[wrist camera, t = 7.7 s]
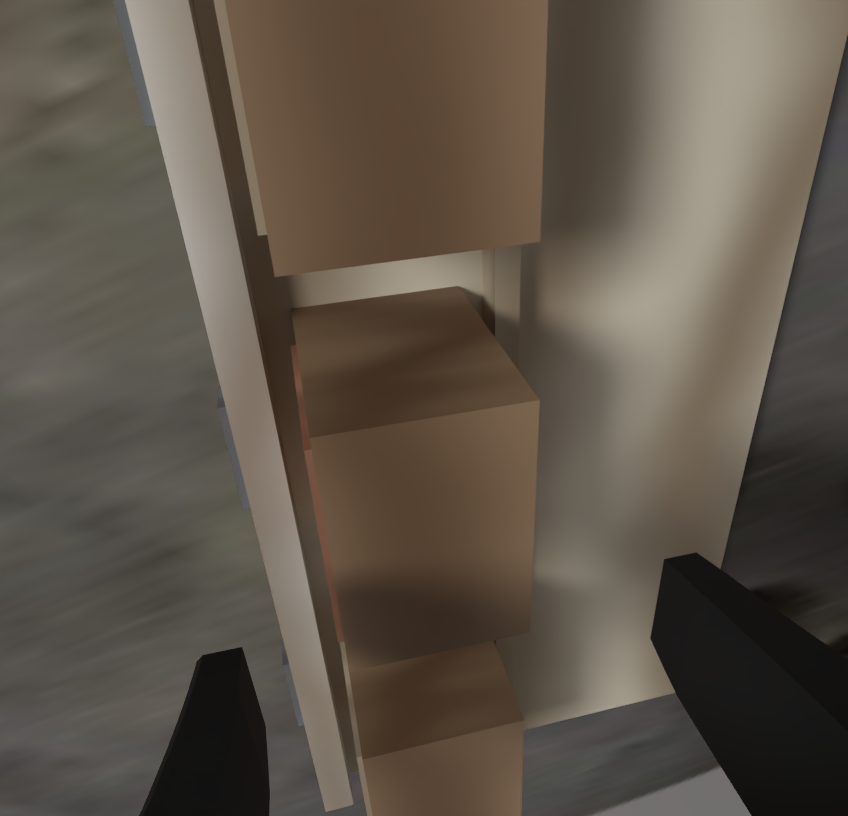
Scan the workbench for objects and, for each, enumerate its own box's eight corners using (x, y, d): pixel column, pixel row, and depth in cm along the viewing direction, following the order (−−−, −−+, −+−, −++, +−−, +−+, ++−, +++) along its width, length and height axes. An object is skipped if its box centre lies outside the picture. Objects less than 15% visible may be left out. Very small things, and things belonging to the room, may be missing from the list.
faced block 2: (464, 563, 21) (524, 719, 17) (468, 685, 25) (520, 845, 20) (331, 590, 21) (356, 761, 16) (353, 712, 24) (379, 883, 19)
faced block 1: (437, -196, 12) (558, -311, 7) (450, 164, 15) (540, 242, 10) (190, -190, 11) (153, -310, 7) (258, 186, 14) (264, 278, 10)
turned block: (458, 285, 17) (540, 399, 12) (463, 483, 20) (529, 632, 15) (284, 309, 16) (301, 439, 11) (319, 509, 19) (342, 673, 15)
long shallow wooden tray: (866, -228, 14) (969, -263, 12) (676, 664, 29) (708, 714, 27) (81, -209, 12) (47, -250, 10) (314, 750, 27) (320, 813, 25)
